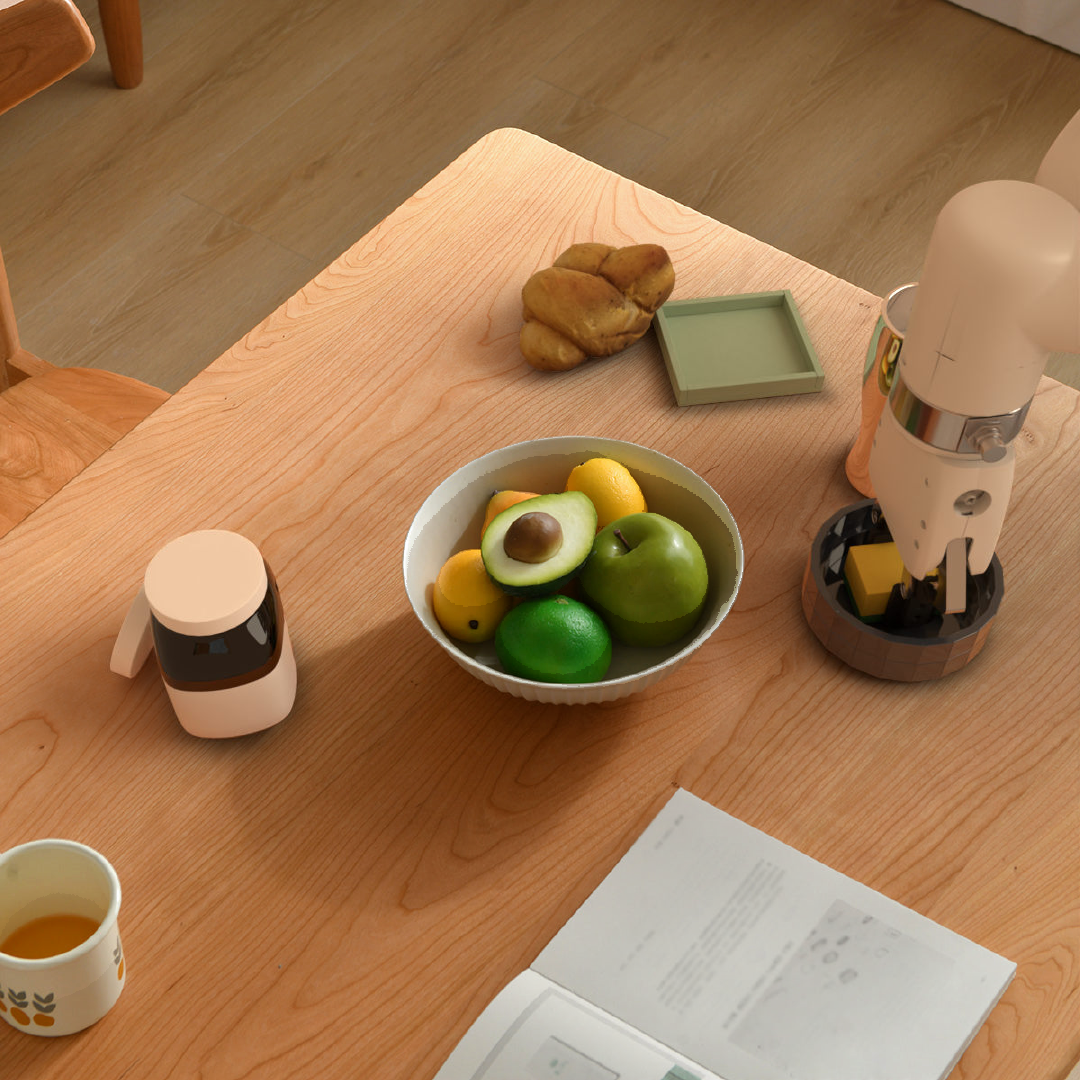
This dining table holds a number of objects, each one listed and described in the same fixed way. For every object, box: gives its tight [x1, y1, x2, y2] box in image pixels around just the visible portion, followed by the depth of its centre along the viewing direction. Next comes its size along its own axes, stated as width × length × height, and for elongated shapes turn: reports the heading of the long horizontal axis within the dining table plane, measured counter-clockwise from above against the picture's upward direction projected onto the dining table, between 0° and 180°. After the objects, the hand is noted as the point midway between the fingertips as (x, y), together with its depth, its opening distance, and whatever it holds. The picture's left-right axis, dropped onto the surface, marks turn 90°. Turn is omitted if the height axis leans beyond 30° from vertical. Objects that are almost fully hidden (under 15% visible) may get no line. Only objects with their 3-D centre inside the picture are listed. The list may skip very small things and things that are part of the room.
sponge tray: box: [651, 288, 826, 407], centre depth 106 cm, size 11×10×2 cm
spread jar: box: [109, 528, 298, 740], centre depth 82 cm, size 12×11×12 cm
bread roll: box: [518, 242, 676, 373], centre depth 105 cm, size 13×10×8 cm
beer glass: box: [844, 281, 919, 499], centre depth 92 cm, size 7×7×15 cm
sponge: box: [842, 542, 942, 623], centre depth 89 cm, size 6×4×3 cm, turn 98°
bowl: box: [801, 498, 1005, 683], centre depth 89 cm, size 12×12×4 cm
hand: (895, 591), depth 90 cm, fingers closed on sponge, 4 cm apart
